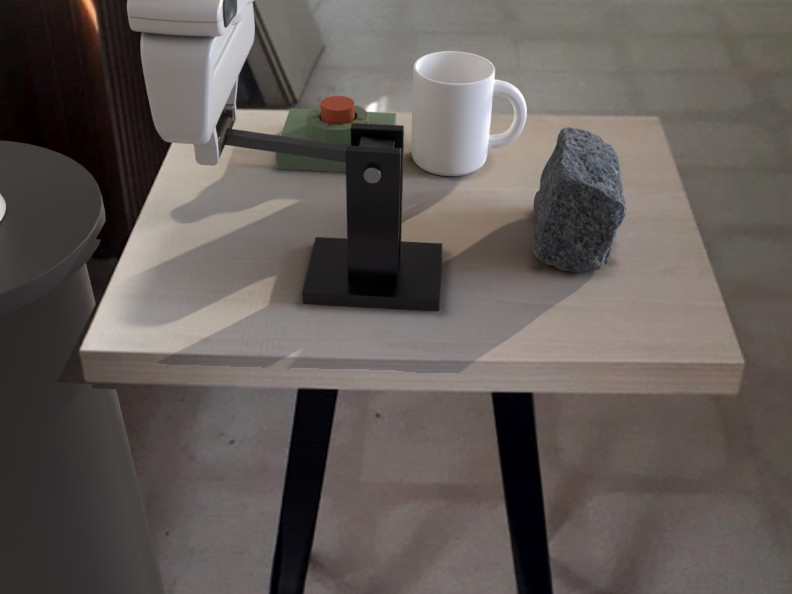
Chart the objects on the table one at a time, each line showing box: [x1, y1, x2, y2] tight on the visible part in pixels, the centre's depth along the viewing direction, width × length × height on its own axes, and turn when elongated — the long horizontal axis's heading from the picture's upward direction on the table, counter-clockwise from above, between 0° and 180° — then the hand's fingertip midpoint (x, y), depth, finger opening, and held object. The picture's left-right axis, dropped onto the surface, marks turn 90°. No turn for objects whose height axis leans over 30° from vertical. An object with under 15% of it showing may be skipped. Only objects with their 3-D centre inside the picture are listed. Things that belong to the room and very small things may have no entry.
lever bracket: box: [301, 123, 444, 312], centre depth 82 cm, size 12×9×14 cm
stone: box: [532, 126, 628, 273], centre depth 89 cm, size 12×8×10 cm, turn 0°
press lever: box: [216, 113, 395, 162], centre depth 79 cm, size 15×5×2 cm, turn 86°
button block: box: [275, 104, 397, 173], centre depth 104 cm, size 12×10×4 cm
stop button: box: [319, 95, 355, 125], centre depth 102 cm, size 4×4×2 cm
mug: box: [410, 50, 528, 177], centre depth 100 cm, size 12×8×10 cm
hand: (217, 142), depth 79 cm, fingers closed on press lever, 5 cm apart
